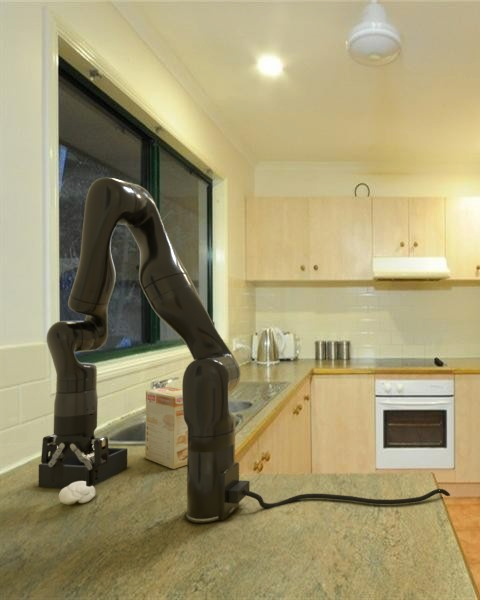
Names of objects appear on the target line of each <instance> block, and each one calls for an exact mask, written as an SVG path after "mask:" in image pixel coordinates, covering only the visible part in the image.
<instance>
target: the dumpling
mask: <svg viewBox="0 0 480 600" xmlns="http://www.w3.org/2000/svg"><path fill="white" fill-rule="evenodd" d="M95 496H96V488H95V486H94V485H93V486H91V487H88V486H86V481H77V482H74V483H71V484H70V485H69V486H67V487H65V488H61V489H60V491H59V494H58V498H56V500H59V501H60V502H61V503H62V504H64V505H68V506H69V505H74V504H75V503H76V502H77V503H79V504H85V503H88V502H90V501H91V500H92V499H93V498H95Z"/></svg>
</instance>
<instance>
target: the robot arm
mask: <svg viewBox="0 0 480 600" xmlns="http://www.w3.org/2000/svg"><path fill="white" fill-rule="evenodd" d="M118 225H121V226H125V227H126V228H127V229H128V230H129V232H130V233H131V235H132V237H133V239H134V241H135V242H136V244H137V247H138V249H139V268H138V279H139V284H140V287H141V289H142V292H143V294H144V295H145V297H146V299H147V301H148V303H149V305H150V307H151V309H152V310H153V311H154V313H155V314H156V315H157V317H158V318H159V319H160V320H161V321H162V322H163V323H164V324H165V325H166V326H167V327H168V328H169V329H170V330H172V331H173V333H175V334H176V335H177V336H178V337H179V338H180V339H181V341H182V342H183V343H184V344H185V345H186V347H187V349H188V351H189V353H190V355H191V356H192V359H193V360H192V361H191V362H189V364H187V366H186V368H185V370H184V372H183V376H182V383H181V385H182V388H181V389H182V394H183V415H184V420H185V423H186V424H187V428H188V448H187V465H186V466H187V467H186V511H185V512H186V513H185V514H186V520H188V521H189V522H192V523H195V524H196V523H197V524H206V523H212V522H217V521H225V520H226V519H227V518H228V517H229V516H230V515H231V514H232V513H233V512H234V511H235V510H236V509H237V508H239V506H240V502H241V501H242V500H243V499H244V498H246V496H247V497H250V498H252V499H255V500H256V501H257V502H258V504H259V506H260V507H261V508H264V509H272V508H276V507H279V506H283V505H287V504H291V503H293V502H296V501H299V500H306V499H327V500H336V501H337V500H339V501H349V502H357V503H363V504H371V505H402V504H403V505H404V504H411V503H419V502H423V501H425V500H428V499H430V498H432V497H434V496H435V495H438V494H441V495H444V496H446V497H450V496H451V493H450V492H448V491H447V490H446V489H443V488H436V489H433V490H431V491H428V493H425V494H423V495H421V496H416V497H409V498H395V499H383V498H381V499H380V498H379V499H378V498H367V497H359V496H354V495H353V496H352V495H344V494H343V495H341V494H330V493H302V494H298V495H295V496H291V497H289V498H287V499H284V500H281V501H279V502H274V503H268V502H265V501H264V499H263V497H262V496H261V495H260V494H258V493H256V492H253V491H250V483H251V481H250V480H240V462H238V461H236V416H235V414H234V413H232V412H230V409H229V408H230V407H229V393H231V392H232V391H234V390H235V389H236V388H237V386H239V383H240V381H241V377H242V373H241V366H240V364H239V362H238V360H237V358H236V357H235V356H234V354H233V353H232V351H231V349H229V347H228V345H227V344H226V342H225V341H224V340H223V338H222V337H221V335H220V334H219V331H218V330H217V328H216V326H215V325H214V322H213V321H212V319H211V317H210V314H209V313H208V310H207V308H206V307H205V305H204V303H203V301H202V299H201V297H200V295H199V293H198V290H197V288H196V287H195V285H194V283H193V281H192V279H191V277H190V276H189V273H188V271H187V269H186V268H185V266H184V264H183V263H182V261H181V259H180V257H179V254H178V252H177V251H176V249H175V247H174V245H173V242H172V241H171V239H170V237H169V234H168V232H167V230H166V228H165V225H164V222H163V219H162V217H161V214H160V212H159V208H158V206H157V204H156V202H155V199H154V198H153V196H152V195H151V194H150V192H149V191H148V190H147V189H146V188H145V187H142V186H141V185H139V184H136V183H132V182H129V181H125V180H121V179H118V178H113V177H100V178H98V179H96V180H95V181H94V182H92V184H91V185H90V187H89V188H88V191H87V194H86V198H85V205H84V212H83V223H82V232H81V233H82V234H81V244H80V245H81V246H80V255H79V260H78V261H79V262H78V267H77V270H76V274H75V277H74V281H73V285H72V287H71V291H70V294H69V297H68V302H67V306H68V308H69V309H70V310H71V311H72V312H74V313H77V314H81V315H85V318H84V320H83V319H82V320H59V321H57V322H55V323H53V324H51V326H50V327H49V329H48V331H47V333H46V344H47V349H48V350H49V351H48V352H49V353H50V356H51V359H52V363H53V366H54V370H55V374H56V380H55V381H56V383H55V385H56V386H55V397H54V403H53V433H52V434H49V435H46V436H43V437H42V443H41V446H42V447H41V458H40V462H41V464H42V463H43V464H45V463H47V464H48V466H49V467H50V480H51V483H52V484H56V483H58V482H61V481H62V480H63V471H64V464H61V463H62V462H63V461H64V460H65V459H66V457H73V458H78V459H79V460H80V462H83V463H84V464H85V466H86V467H87V469H88V470H86V486H88V487H91V486H93V487H94V486H95V485H97V484H98V483H97V482H98V480H99V467H100V466H102V465H104V464H107V463H108V462H109V451H108V448H109V437H108V436H103V437H96V436H95V431H96V429H97V427H98V403H99V402H98V400H99V397H98V391H97V389H98V388H97V385H98V384H97V383H98V368H97V365H96V364H95V363H93V362H89V361H79V360H78V358H77V356H76V353H83V352H93V351H97V350H99V349H101V348H102V347H103V346H104V345H105V343H106V342H107V340H108V338H109V323H108V315H109V313H108V311H109V310H108V309H109V304H110V302H111V297H112V295H113V292H114V289H115V285H116V275H117V274H116V268H115V263H114V261H113V256H112V249H111V245H112V238H113V235H114V232H115V229H116V227H117V226H118ZM88 452H90V454H89V455H86V454H87V453H88ZM101 455H102V460H101ZM90 459H92V461H93V463H92V462H91V460H90ZM96 483H97V484H96ZM439 490H440V491H439Z"/></svg>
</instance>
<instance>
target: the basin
mask: <svg viewBox="0 0 480 600" xmlns="http://www.w3.org/2000/svg"><path fill="white" fill-rule="evenodd" d="M108 451H109V462H108V463H107V464H104V465H102V466H100V467H99V480H98V482H97V483H96V484H95V485H97V484H99V483H101V482H103V481H105V480H107V479H109V478H111V477H113V476H115V475H117V474H118V473H121V472H123V471H125V470H126V469H127V470H128V448H126V447H125V448H123V447H108ZM89 454H90V452H88V453H87V454H86V455H89ZM90 460H91V462H92V463H93V461H92V459H90ZM101 460H102V455H101ZM61 464H64V471H63V480H62V481H61V482H58V483H56V484H52V483H51V480H50V467H49V466H48V464H47V463H45V464H43V463H42V462H41V463H39V464H38V487H39V488H40V487H41V488H55V489H63V488H65V487H67V486H69V485H70V484H71V483H74V482H77V481H86V470H88V469H87V467H86V466H85V464H84V463H83V462H80V460H79V459H78V458H73V457H66V459H65V460H64V461H63V462H62V463H61Z"/></svg>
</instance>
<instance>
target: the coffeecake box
mask: <svg viewBox="0 0 480 600" xmlns="http://www.w3.org/2000/svg"><path fill="white" fill-rule="evenodd" d="M187 448H188V428H187V424H186V423H185V420H184V415H183V394H182V388H178V387H173V386H163V387H158V388H153V389H147V390H145V447H144V449H145V450H144V451H145V453H144V459H146V460H149V461H152V462H154V463H157V464H159V465H162V466H164V467H167V468H168V469H172V470H176V469H178V468H181V467H185V466H187Z"/></svg>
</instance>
